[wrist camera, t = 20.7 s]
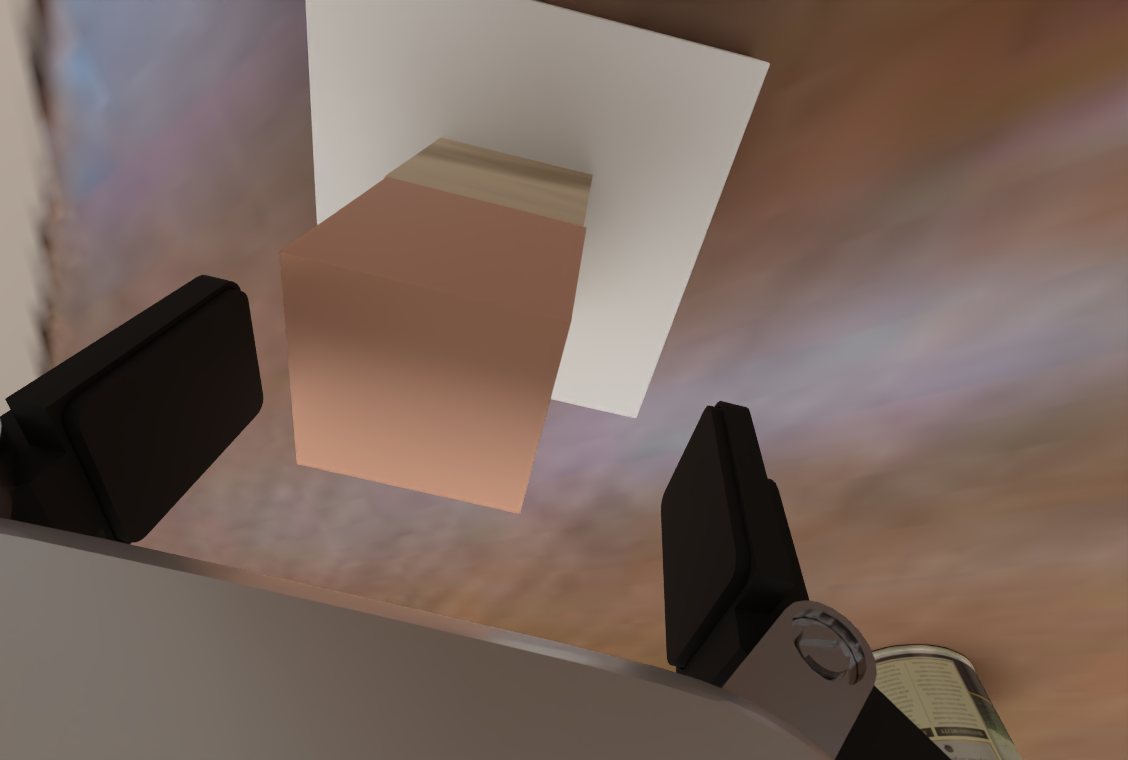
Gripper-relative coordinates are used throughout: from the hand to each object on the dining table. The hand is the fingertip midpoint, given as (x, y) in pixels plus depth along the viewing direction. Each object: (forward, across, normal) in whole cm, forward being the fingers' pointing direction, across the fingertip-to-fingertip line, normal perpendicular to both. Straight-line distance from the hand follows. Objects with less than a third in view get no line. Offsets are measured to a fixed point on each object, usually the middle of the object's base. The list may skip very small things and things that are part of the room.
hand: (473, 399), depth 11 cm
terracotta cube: (+7, +2, +2) cm, 7 cm away
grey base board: (+16, +2, +2) cm, 16 cm away
